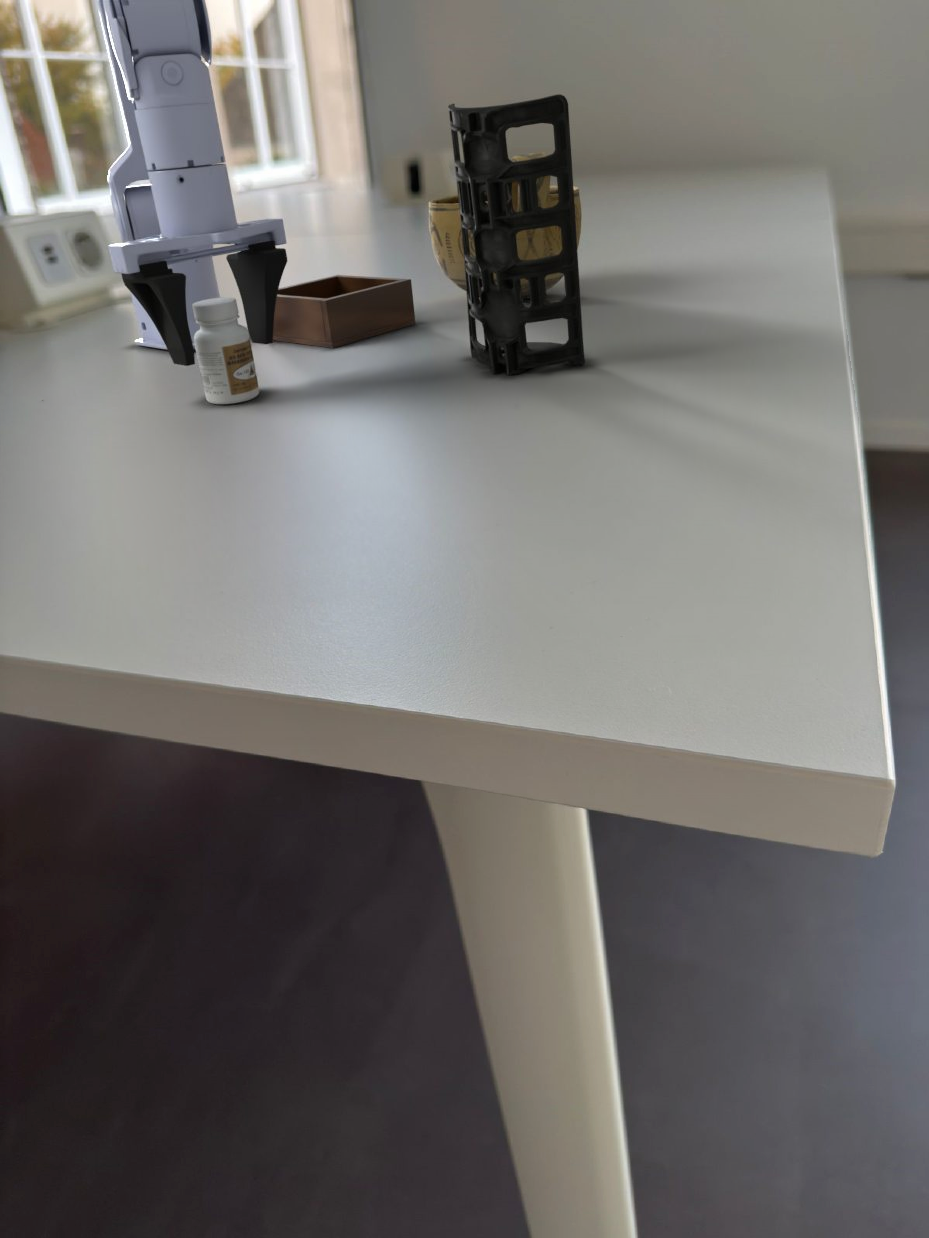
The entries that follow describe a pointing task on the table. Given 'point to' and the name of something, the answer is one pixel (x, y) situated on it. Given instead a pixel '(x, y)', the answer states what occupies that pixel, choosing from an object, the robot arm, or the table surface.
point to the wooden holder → (342, 309)
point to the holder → (500, 226)
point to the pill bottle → (224, 352)
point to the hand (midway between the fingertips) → (224, 353)
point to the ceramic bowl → (529, 242)
